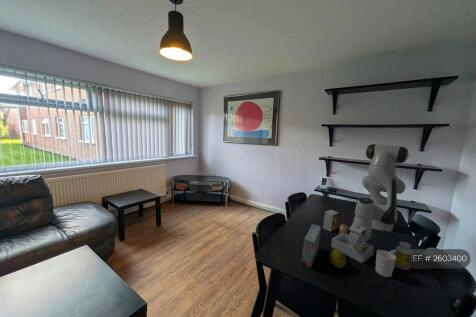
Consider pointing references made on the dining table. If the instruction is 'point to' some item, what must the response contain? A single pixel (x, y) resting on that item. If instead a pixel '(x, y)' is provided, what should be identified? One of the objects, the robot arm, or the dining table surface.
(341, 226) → the brown oval piece
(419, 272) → the dining table surface
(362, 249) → the beech cube
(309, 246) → the snack box
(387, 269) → the white cup
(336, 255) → the lemon
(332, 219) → the small box
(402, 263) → the supplement bottle
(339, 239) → the tote
